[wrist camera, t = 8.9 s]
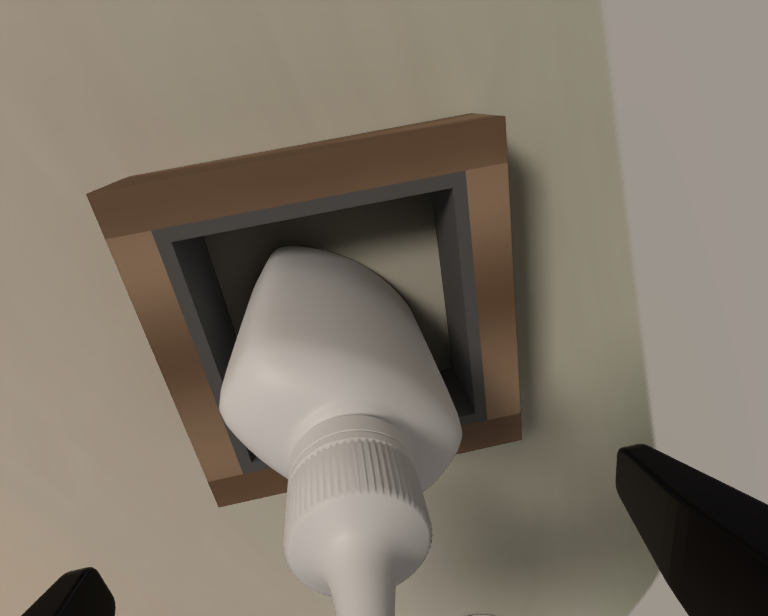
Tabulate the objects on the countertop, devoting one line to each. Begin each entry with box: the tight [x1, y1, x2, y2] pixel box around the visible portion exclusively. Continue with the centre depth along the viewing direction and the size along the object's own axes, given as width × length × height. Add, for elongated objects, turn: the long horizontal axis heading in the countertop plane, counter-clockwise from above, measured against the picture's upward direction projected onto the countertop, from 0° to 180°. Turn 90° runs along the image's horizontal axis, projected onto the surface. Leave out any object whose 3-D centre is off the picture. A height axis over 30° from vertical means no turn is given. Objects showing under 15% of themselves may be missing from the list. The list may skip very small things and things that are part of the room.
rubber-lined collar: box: [86, 113, 522, 507], centre depth 16 cm, size 11×11×3 cm
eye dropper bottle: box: [219, 246, 462, 616], centre depth 12 cm, size 4×6×12 cm
